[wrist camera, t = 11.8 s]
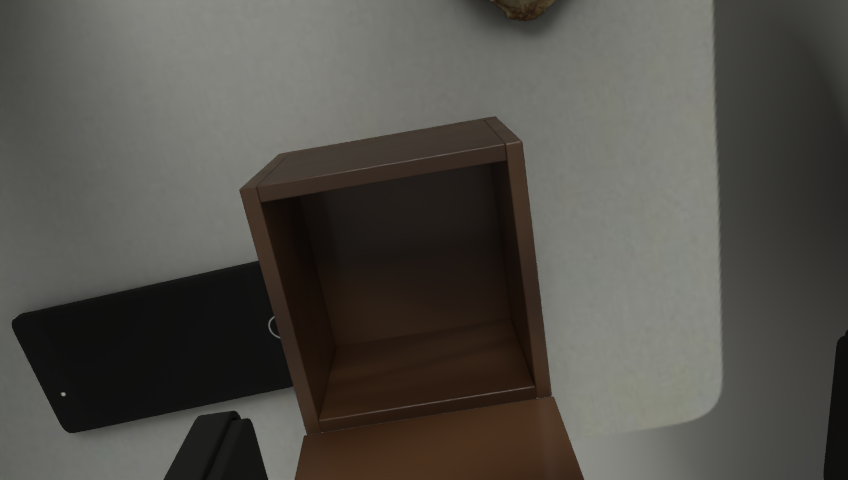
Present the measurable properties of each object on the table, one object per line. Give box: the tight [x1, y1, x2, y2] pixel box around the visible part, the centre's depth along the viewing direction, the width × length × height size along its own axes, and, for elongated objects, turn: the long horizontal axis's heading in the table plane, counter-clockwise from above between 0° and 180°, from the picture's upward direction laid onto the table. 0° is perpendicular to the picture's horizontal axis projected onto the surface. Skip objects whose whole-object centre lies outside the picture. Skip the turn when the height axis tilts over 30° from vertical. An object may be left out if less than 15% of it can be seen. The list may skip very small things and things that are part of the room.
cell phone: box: [12, 261, 293, 433], centre depth 39 cm, size 9×18×1 cm, turn 103°
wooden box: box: [240, 117, 552, 435], centre depth 34 cm, size 14×13×9 cm
